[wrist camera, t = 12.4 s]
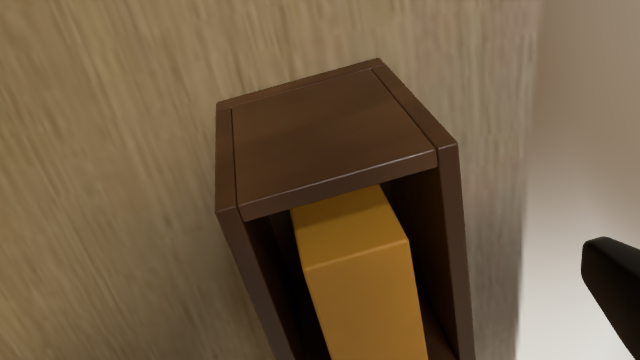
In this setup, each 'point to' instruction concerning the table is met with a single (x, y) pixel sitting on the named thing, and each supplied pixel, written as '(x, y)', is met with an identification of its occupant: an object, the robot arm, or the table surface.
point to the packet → (360, 276)
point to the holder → (335, 179)
